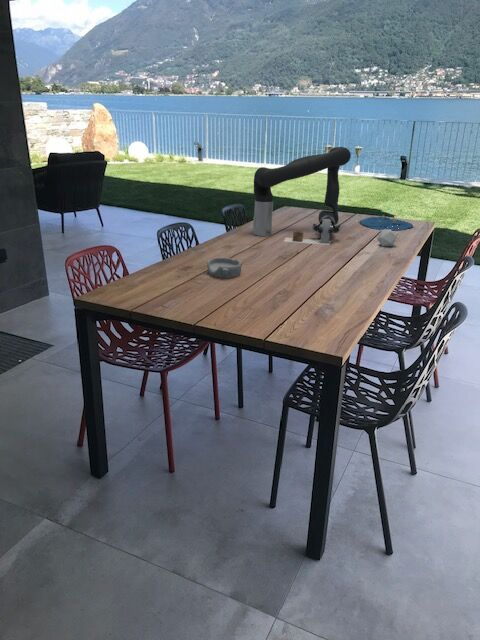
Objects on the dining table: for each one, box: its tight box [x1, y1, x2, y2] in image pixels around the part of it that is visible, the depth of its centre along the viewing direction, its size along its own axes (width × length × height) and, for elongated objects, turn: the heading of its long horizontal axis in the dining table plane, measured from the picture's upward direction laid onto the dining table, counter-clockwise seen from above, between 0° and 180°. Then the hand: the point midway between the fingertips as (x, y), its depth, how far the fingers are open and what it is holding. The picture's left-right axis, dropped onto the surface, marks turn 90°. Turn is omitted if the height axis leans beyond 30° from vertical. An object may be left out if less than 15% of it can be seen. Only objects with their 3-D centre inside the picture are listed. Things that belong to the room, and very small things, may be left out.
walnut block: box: [292, 229, 304, 243], centre depth 258 cm, size 4×4×4 cm
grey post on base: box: [283, 219, 331, 246], centre depth 256 cm, size 22×8×12 cm, turn 79°
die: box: [376, 229, 398, 247], centre depth 259 cm, size 8×9×10 cm
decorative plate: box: [359, 214, 414, 231], centre depth 305 cm, size 30×30×5 cm
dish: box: [206, 257, 243, 279], centre depth 211 cm, size 14×14×5 cm
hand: (325, 231), depth 252 cm, fingers closed on grey post on base, 4 cm apart
